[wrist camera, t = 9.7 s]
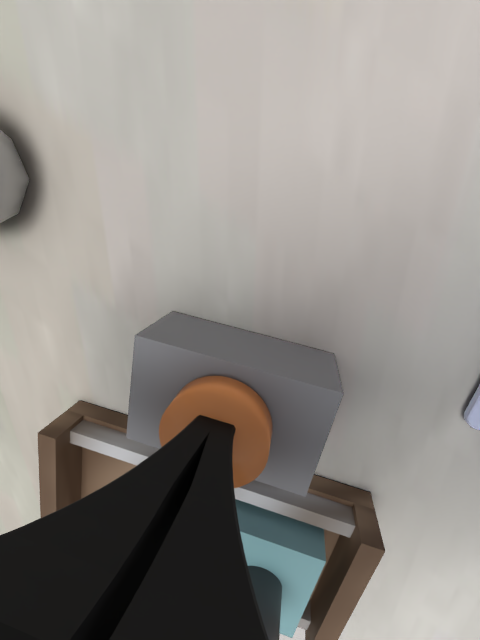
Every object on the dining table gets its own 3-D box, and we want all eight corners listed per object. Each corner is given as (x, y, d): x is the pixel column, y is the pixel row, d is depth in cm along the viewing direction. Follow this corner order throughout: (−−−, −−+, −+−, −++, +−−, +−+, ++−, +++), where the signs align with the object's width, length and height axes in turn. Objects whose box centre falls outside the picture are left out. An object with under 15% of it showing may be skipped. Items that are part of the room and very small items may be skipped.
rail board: (370, 492, 16) (385, 551, 13) (321, 598, 19) (324, 664, 16) (79, 400, 18) (37, 432, 15) (77, 508, 21) (41, 552, 18)
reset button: (288, 358, 13) (281, 412, 10) (268, 429, 15) (255, 502, 11) (204, 336, 14) (165, 378, 10) (192, 406, 15) (153, 468, 11)
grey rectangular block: (334, 353, 14) (343, 393, 10) (304, 439, 15) (305, 496, 12) (172, 311, 15) (135, 335, 11) (161, 395, 16) (126, 437, 13)
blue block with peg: (323, 520, 15) (334, 692, 10) (293, 593, 17) (288, 771, 12) (229, 488, 16) (188, 633, 10) (211, 562, 18) (168, 717, 12)
